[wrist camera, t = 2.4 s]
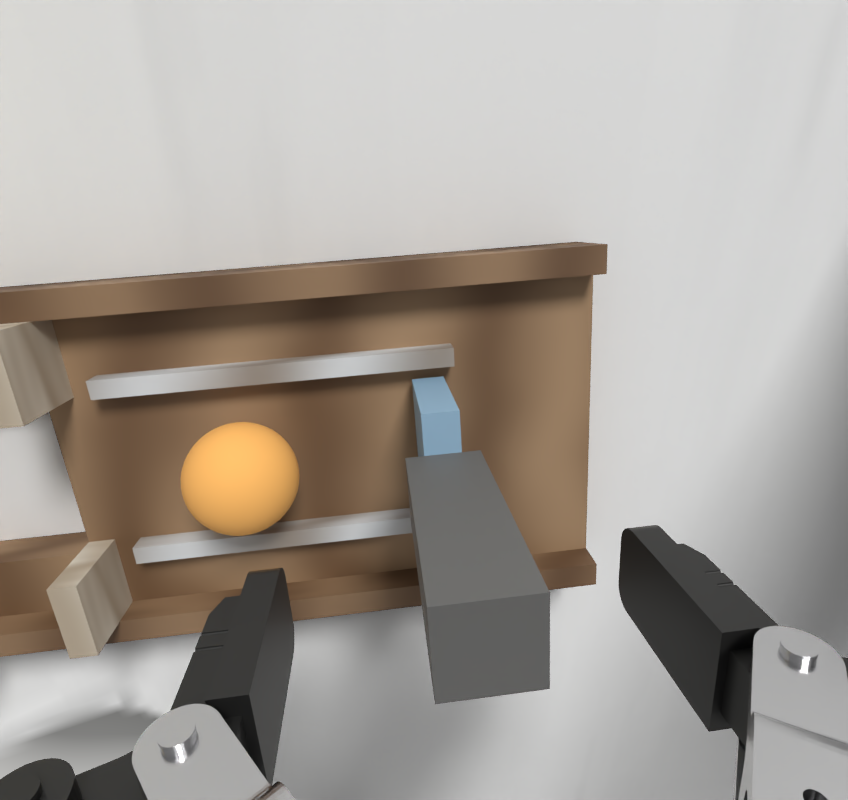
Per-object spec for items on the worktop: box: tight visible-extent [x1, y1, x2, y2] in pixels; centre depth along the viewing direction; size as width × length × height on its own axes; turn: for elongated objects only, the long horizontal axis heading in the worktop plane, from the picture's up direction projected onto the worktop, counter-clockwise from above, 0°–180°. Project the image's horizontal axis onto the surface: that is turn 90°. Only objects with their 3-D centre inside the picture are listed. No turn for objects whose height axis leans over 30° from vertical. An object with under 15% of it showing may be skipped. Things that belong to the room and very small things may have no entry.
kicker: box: [405, 376, 550, 704], centre depth 16 cm, size 2×5×11 cm, turn 4°
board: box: [0, 242, 607, 659], centre depth 21 cm, size 27×14×5 cm, turn 94°
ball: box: [181, 422, 300, 536], centre depth 19 cm, size 4×4×4 cm
